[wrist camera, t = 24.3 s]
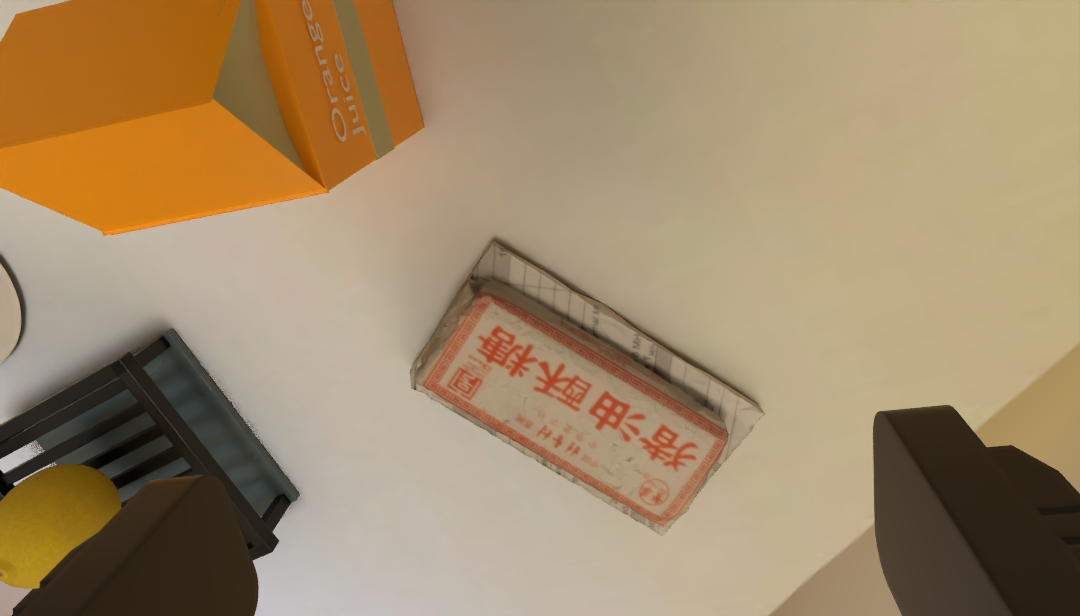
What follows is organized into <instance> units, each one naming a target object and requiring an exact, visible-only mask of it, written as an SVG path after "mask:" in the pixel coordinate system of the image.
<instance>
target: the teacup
mask: <svg viewBox="0 0 1080 616" xmlns="http://www.w3.org/2000/svg"><path fill="white" fill-rule="evenodd" d="M20 330H21V310H20V304H19V300H18V296H17V293H16V291H15V288H14V286H13V284H12V282H11V280H10V278H9V276H8V274H7V273H6V271H5V269H4V268H3V266H2V265H1V264H0V363H1V362H2V361H3V360H5V359H6V358H7V357H8V356H9V355H10V353H11V352H12V350H13V349H14V347H15V345H16V343H17V341H18V338H19V335H20Z"/></svg>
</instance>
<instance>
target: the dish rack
mask: <svg viewBox="0 0 1080 616" xmlns="http://www.w3.org/2000/svg"><path fill="white" fill-rule="evenodd" d="M34 440H36V441H37V442H38V443H39V444H40V445H41V446H42V448H43V449H44V450H45V451H44V452H43V453H41V454H39V455H37V456H35V457H33V458H32V459H30V460H28V461H26V462H24V463H22V464H20V465H19V466H17V467H15V468H13V469H11V470H9V471H8V472H6V473H3V472H2V471H1V470H0V501H1V500H2V499H3V498H4V497H5V496H6V495H7V494H8V493H9V492H10V491H11V490H12V489H13V488H14V487H15V486H14V485H13V483H15V482H17V481H19V480H20V479H22V478H24V477H26V476H28V475H30V474H32V473H33V472H35V471H37V470H39V469H41V468H43V467H45V466H47V465H48V464H50V463H52V462H54V461H55V463H56V464H57V465H63V464H79V465H84V466H88V467H92V468H94V469H96V470H98V471H100V472H102V473H103V474H105V475H106V476H107V477H108V478H109V479H110V480H111V481H112V482H113V484H114V485H115V487H116V488H117V490H118V493H119V496H120V499H121V508H122V507H123V506H124V505H125V504H126V503H127V502H128V501H129V500H130V499H131V498H132V497H133V496H134V495H135V494H136V493H137V492H138V491H139V490H140V489H141V488H142V487H143V486H144V485H145V484H146V483H148V482H150V481H152V480H155V479H164V478H175V477H185V476H195V475H206V474H210V475H214V476H216V477H217V478H219V479H220V480H221V482H222V483H223V484H224V486H225V488H226V490H227V493H228V495H229V498H230V501H231V504H232V506H233V509H234V512H235V515H236V517H237V520H238V523H239V525H240V528H241V531H242V534H243V536H244V539H245V542H246V545H247V547H248V550H249V553H250V556H251V558H252V560H255V559H257V558H259V557H261V556H264V555H266V554H269V553H271V552H273V550H274V549H275V547H276V545H277V544H278V542H279V540H278V539H277V538H276V536H275V535H274V534H273V532H272V531H273V530H274V528H275V527H276V525H277V524H278V522H279V521H280V519H281V518H282V516H283V515H284V513H285V511H286V510H287V508H288V507H289V505H290V504H291V502H293V501H296V500H297V498H298V497H299V493H298V492H297V491H296V489H295V488H294V487H293V486H292V484H291V483H290V482H289V480H288V479H287V478H286V476H285V475H284V474H283V472H282V471H281V470H280V468H279V467H278V466H277V465H276V463H275V462H274V461H273V459H272V458H271V457H270V455H269V454H268V453H267V451H266V450H265V449H264V447H263V446H262V445H261V444H260V442H259V441H258V440H257V438H256V437H255V436H254V434H253V433H252V432H251V430H250V429H249V428H248V426H247V425H246V424H245V423H244V421H243V420H242V419H241V417H240V416H239V415H238V413H237V412H236V411H235V409H234V408H233V407H232V405H231V404H230V403H229V401H228V400H227V399H226V398H225V396H224V395H223V394H222V392H221V391H220V390H219V388H218V387H217V386H216V384H215V383H214V382H213V380H212V379H211V378H210V377H209V375H208V374H207V373H206V371H205V370H204V369H203V367H202V366H201V365H200V363H199V362H198V361H197V359H196V358H195V357H194V356H193V354H192V353H191V352H190V350H189V349H188V348H187V346H186V345H185V344H184V342H183V341H182V340H181V338H180V337H179V336H178V335H177V333H176V332H175V331H174V329H171V330H169V331H167V332H166V333H164V334H162V335H160V336H159V337H157V338H155V339H153V340H152V341H150V342H148V343H146V344H145V345H143V346H141V347H139V348H137V349H136V350H134V351H132V352H128V353H126V354H124V355H122V356H121V357H119V358H117V359H115V360H114V361H112V362H110V363H108V364H107V365H105V366H103V367H101V368H99V369H98V370H96V371H94V372H92V373H91V374H89V375H87V376H85V377H84V378H82V379H80V380H78V381H77V382H75V383H73V384H71V385H69V386H68V387H66V388H64V389H62V390H61V391H59V392H57V393H55V394H54V395H52V396H50V397H48V398H47V399H45V400H43V401H41V402H39V403H38V404H36V405H34V406H32V407H31V408H29V409H27V410H25V411H24V412H22V413H20V414H18V415H17V416H15V417H13V418H11V419H9V420H8V421H6V422H4V423H2V424H1V425H0V459H1V458H3V457H5V456H7V455H9V454H10V453H12V452H14V451H16V450H18V449H19V448H21V447H23V446H25V445H27V444H29V443H30V442H32V441H34ZM261 516H262V517H261Z"/></svg>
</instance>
